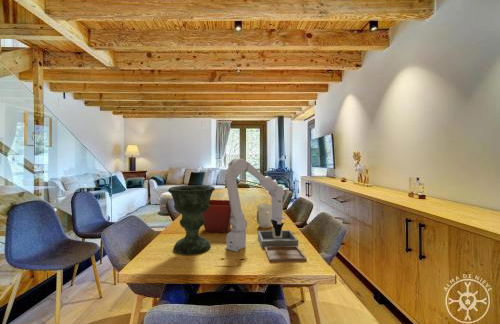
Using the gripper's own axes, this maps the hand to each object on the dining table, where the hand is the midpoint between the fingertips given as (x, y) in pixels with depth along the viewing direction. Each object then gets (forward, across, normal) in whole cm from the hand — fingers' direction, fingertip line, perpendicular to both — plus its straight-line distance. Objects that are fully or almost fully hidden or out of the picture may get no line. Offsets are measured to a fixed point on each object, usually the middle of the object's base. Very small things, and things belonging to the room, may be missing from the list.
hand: (276, 234), depth 143 cm
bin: (+4, 0, 0) cm, 4 cm away
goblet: (+5, -5, +43) cm, 43 cm away
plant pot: (+5, +28, +31) cm, 42 cm away
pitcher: (+5, +32, +2) cm, 32 cm away
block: (+1, 0, 0) cm, 1 cm away
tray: (+4, -19, 0) cm, 20 cm away
